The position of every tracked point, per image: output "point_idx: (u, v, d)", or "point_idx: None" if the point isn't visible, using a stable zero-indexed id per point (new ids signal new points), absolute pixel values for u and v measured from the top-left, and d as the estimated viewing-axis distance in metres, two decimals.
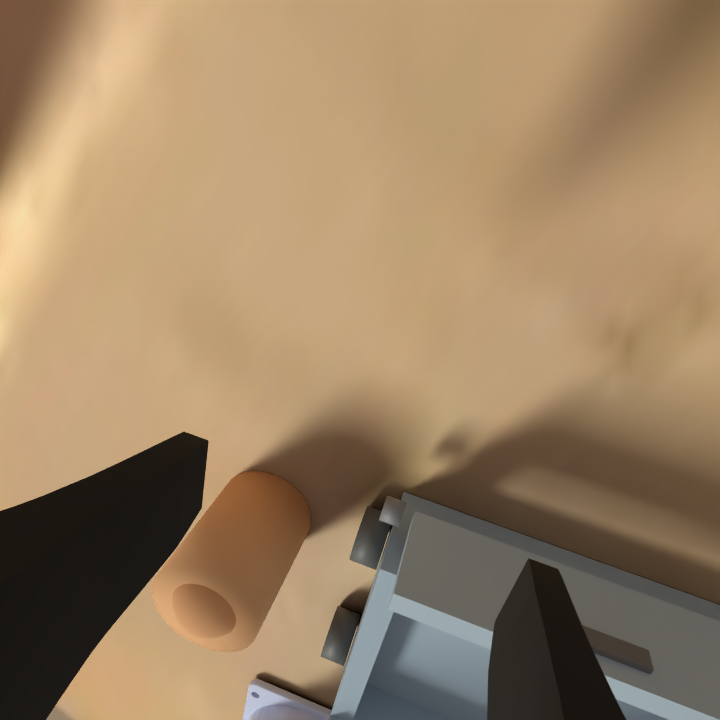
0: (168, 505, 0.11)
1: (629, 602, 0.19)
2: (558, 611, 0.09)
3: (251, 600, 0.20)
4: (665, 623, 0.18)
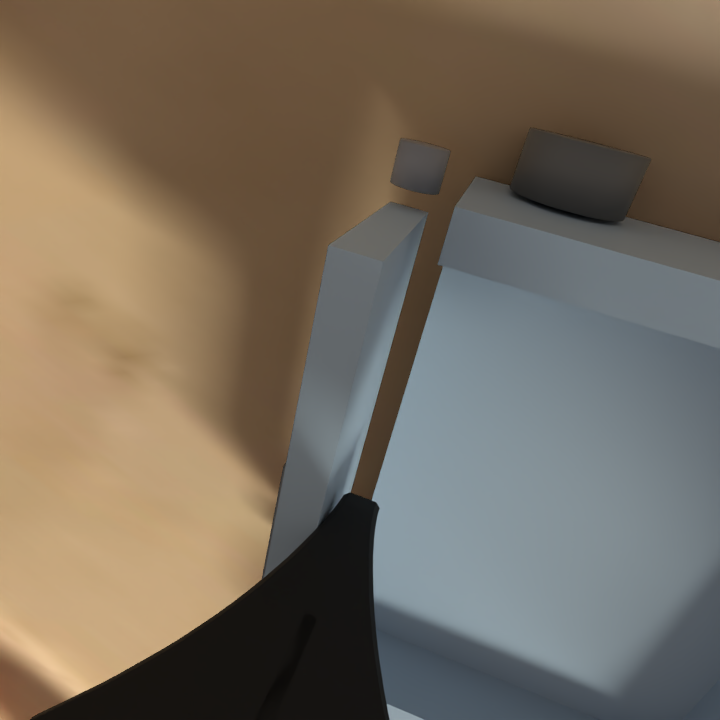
0: None
1: None
2: (351, 533, 0.10)
3: None
4: None
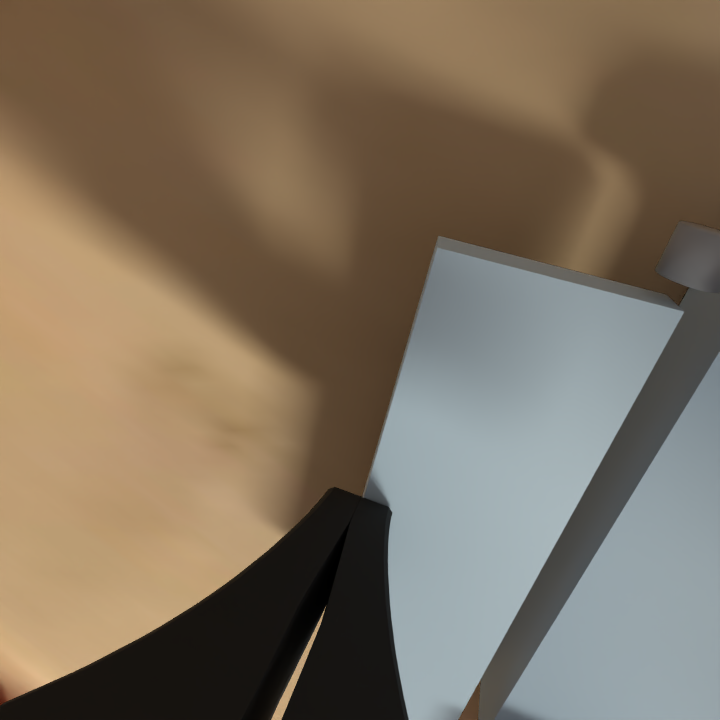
0: (332, 569, 0.10)
1: None
2: (366, 538, 0.10)
3: None
4: None
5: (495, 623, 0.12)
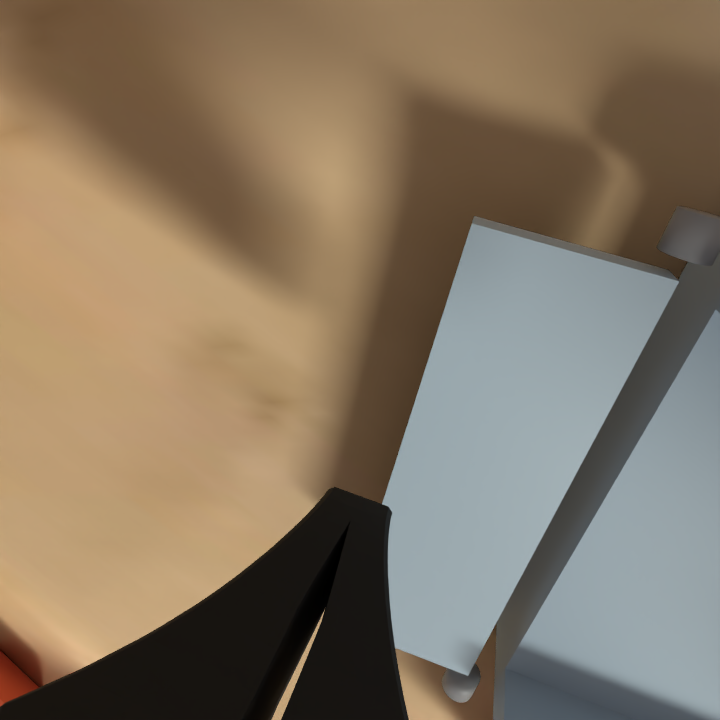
0: (333, 569, 0.10)
1: None
2: (366, 538, 0.10)
3: None
4: None
5: (513, 563, 0.14)
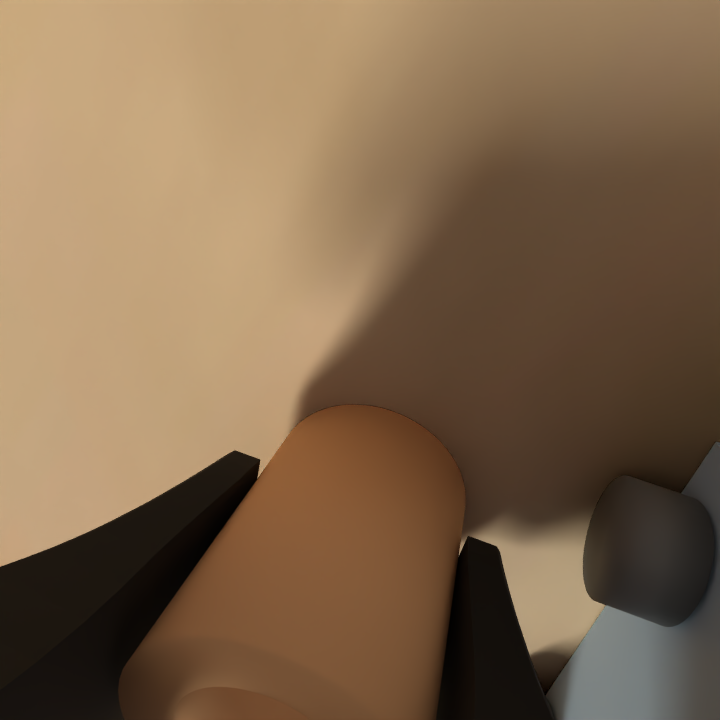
0: (223, 526, 0.10)
1: None
2: (488, 584, 0.09)
3: None
4: None
5: None
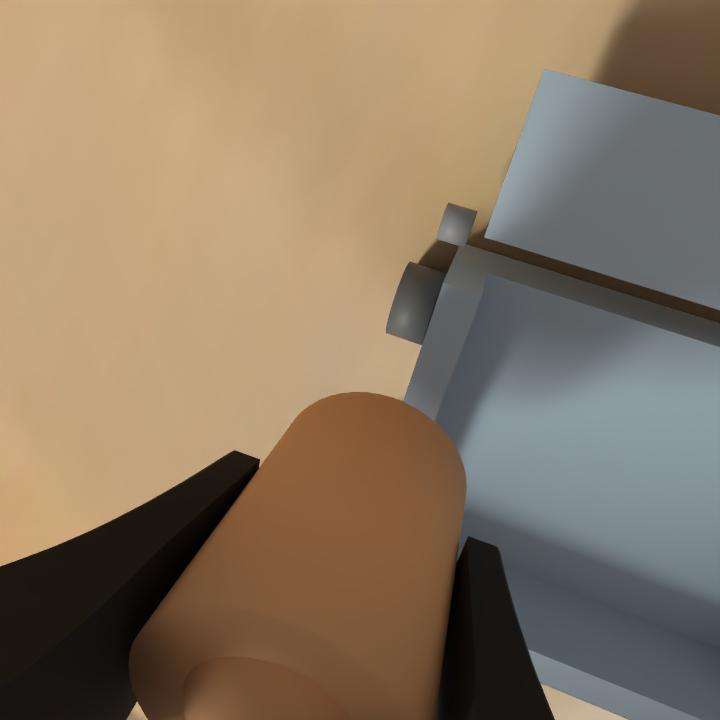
0: None
1: None
2: (488, 585, 0.09)
3: (415, 707, 0.07)
4: None
5: (675, 283, 0.13)
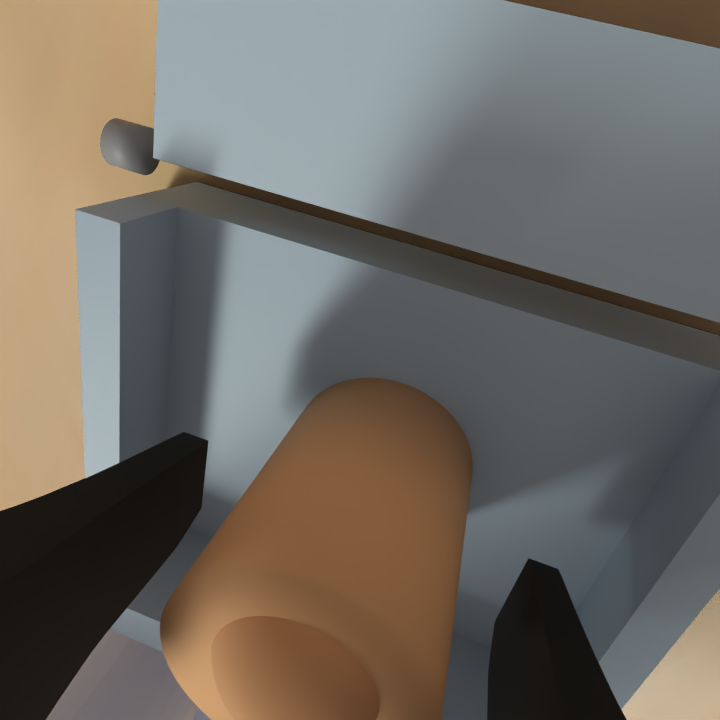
0: (168, 504, 0.11)
1: None
2: (558, 611, 0.09)
3: (429, 660, 0.07)
4: None
5: (371, 205, 0.10)
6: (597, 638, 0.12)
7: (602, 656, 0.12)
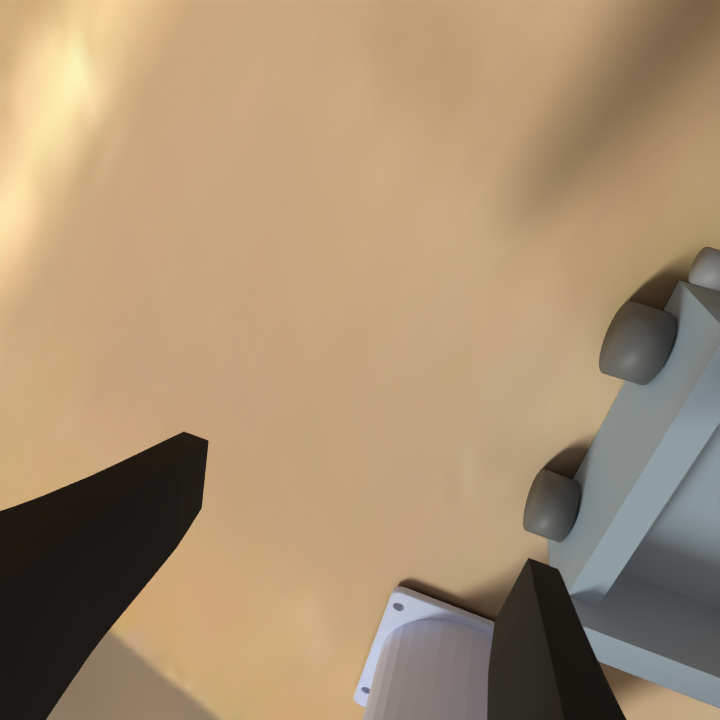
0: (168, 505, 0.11)
1: None
2: (558, 611, 0.09)
3: None
4: None
5: None
6: None
7: None
